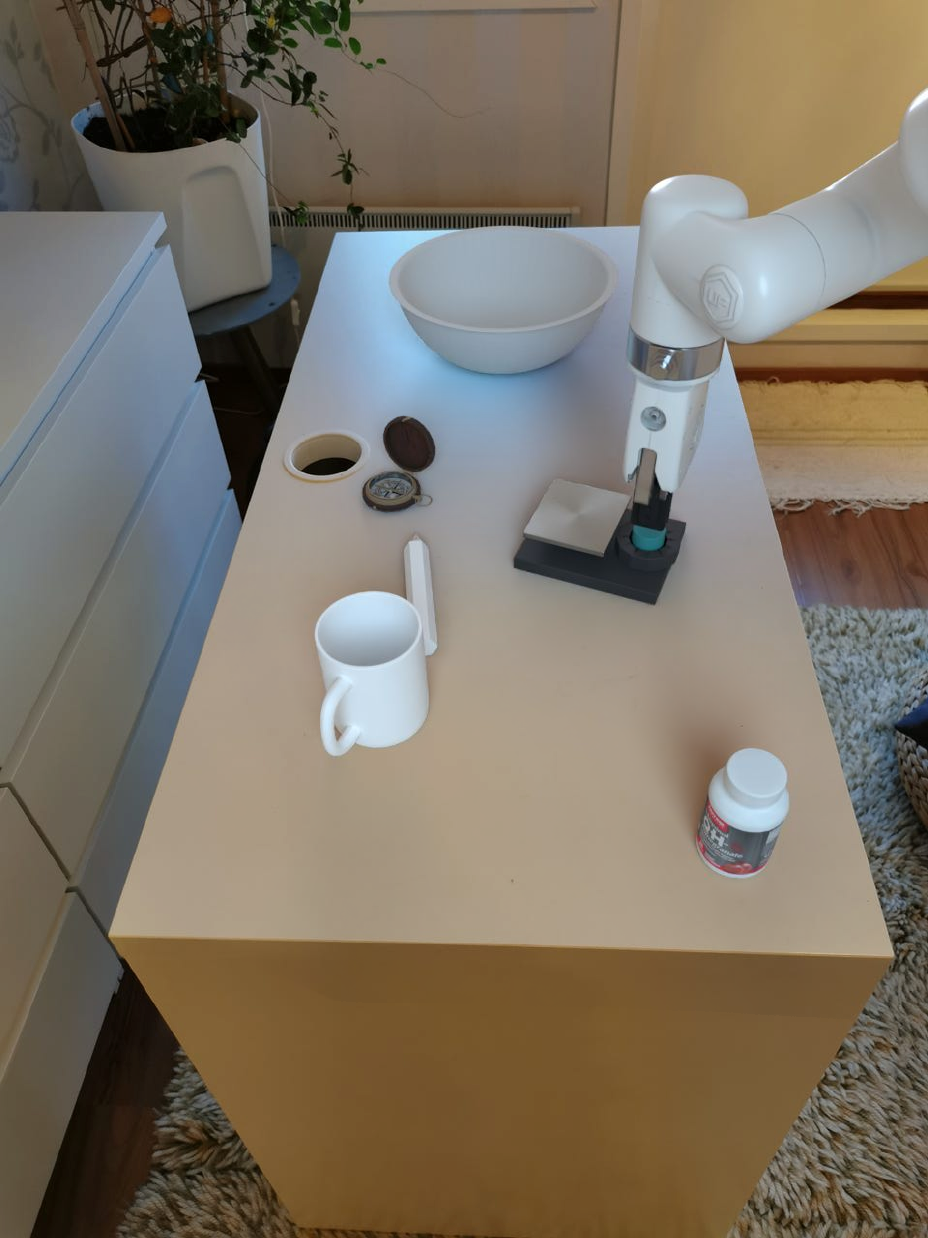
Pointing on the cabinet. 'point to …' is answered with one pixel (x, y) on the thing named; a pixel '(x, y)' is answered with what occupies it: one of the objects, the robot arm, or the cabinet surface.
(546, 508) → the pan
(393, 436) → the compass
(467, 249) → the bowl
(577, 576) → the scale
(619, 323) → the cabinet surface
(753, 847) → the pill bottle
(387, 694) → the cup
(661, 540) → the button
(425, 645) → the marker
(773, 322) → the robot arm
